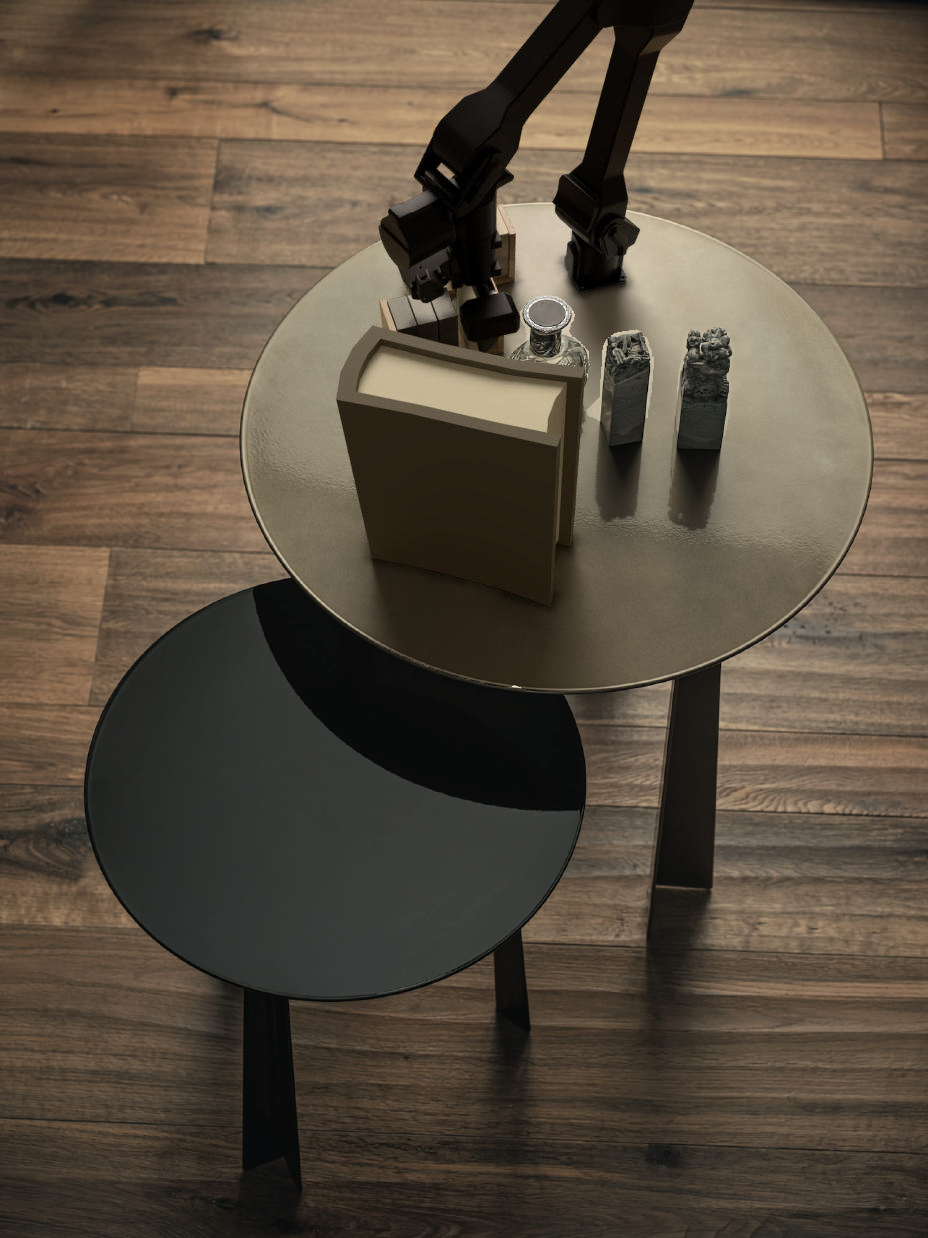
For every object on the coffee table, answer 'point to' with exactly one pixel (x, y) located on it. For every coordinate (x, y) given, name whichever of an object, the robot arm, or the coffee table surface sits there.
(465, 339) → the cream book
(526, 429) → the book
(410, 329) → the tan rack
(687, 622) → the coffee table surface
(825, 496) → the coffee table surface
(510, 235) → the brown rack
